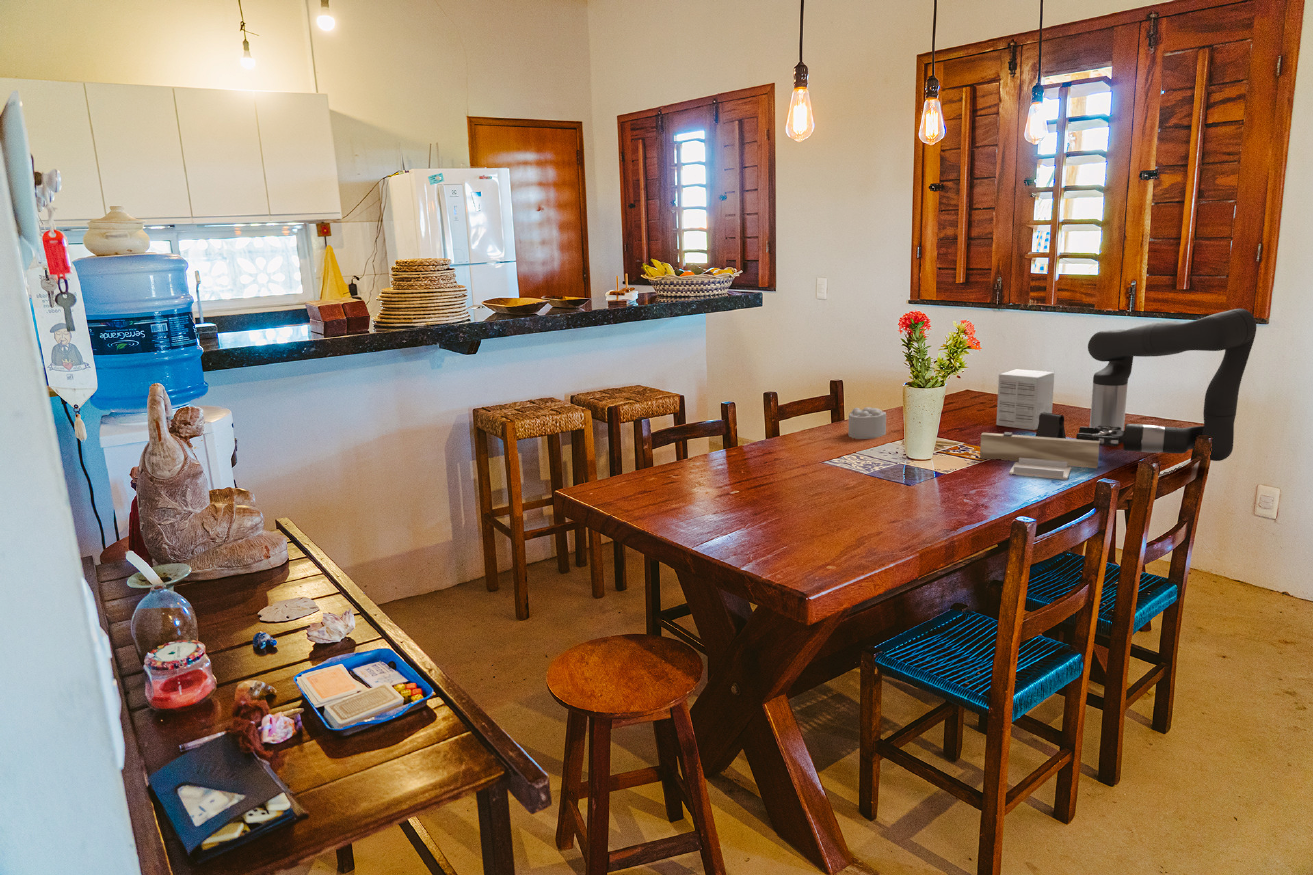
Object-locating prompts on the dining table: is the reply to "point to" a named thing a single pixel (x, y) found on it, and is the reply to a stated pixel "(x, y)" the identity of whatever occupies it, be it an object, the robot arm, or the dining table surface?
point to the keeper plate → (1041, 468)
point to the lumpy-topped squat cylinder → (867, 423)
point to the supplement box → (1024, 397)
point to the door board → (1039, 449)
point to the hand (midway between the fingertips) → (1077, 433)
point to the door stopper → (1051, 426)
